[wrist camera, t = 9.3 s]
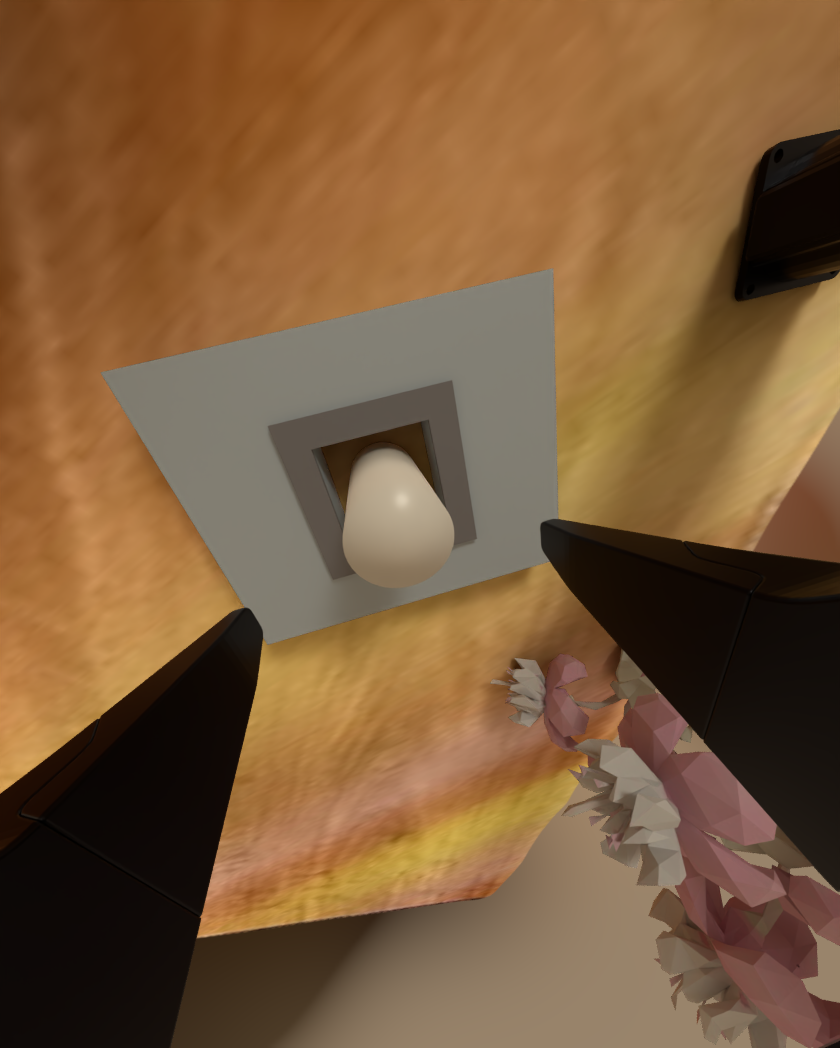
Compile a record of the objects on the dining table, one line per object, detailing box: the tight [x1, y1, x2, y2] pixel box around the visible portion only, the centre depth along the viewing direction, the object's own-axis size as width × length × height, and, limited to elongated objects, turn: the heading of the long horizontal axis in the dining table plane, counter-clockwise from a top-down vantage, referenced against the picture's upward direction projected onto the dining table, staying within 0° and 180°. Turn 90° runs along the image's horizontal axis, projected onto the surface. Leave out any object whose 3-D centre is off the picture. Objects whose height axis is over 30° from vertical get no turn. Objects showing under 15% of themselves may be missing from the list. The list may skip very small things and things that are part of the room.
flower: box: [490, 649, 840, 1048], centre depth 21 cm, size 20×22×25 cm
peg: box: [343, 442, 454, 588], centre depth 15 cm, size 4×4×9 cm
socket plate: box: [101, 268, 558, 645], centre depth 18 cm, size 20×16×3 cm
